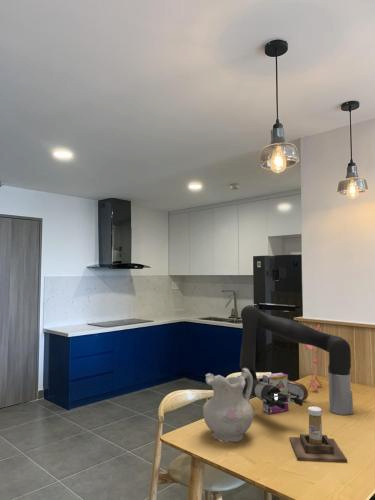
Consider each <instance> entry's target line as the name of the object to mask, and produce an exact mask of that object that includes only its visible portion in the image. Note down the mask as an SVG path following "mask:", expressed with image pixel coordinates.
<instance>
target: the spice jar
mask: <svg viewBox="0 0 375 500" xmlns="http://www.w3.org/2000/svg"><path fill="white" fill-rule="evenodd" d="M307 413H308V434H309V444H317V445H322V435H323V429H322V428H323V425H322V424H323V423H322V415H323V412H322V408H321V407H318V406H309V407H308V408H307Z"/></svg>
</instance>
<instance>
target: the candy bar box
mask: <svg viewBox="0 0 375 500" xmlns="http://www.w3.org/2000/svg"><path fill="white" fill-rule="evenodd" d="M288 380H289V374H287V373H283V372H277V373H267V374H262V382H264V383H268V384H270V385H273V386H275V387H278V388H279V389H280V391H281V392H283V393H286V394H288ZM287 401H289V398H288V397H287ZM262 412H264V413H266V414H268V415H273V414H279V413H284V412H289V403H285V409H282V408H279V407H275V406H273V407H270V406H268V405H266V404H264V403H263V402H262Z"/></svg>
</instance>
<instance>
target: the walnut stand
mask: <svg viewBox="0 0 375 500" xmlns="http://www.w3.org/2000/svg"><path fill="white" fill-rule="evenodd" d="M289 442H290V446H291V447H292V449H293V452H294V455H295V457H296V461H300V462H301V461H304V462H322V463H323V462H325V463H327V462H328V463H345V462H347V463H348V458H347V457H346V456H345V454H344V453H343V451H342V450H341V448H340V447H339V445H338V444H337V442H336V440H335V439H334V438H329V437H328V436H327V435H326V434H322V445H317V444H309V433H308V434H306V433H305V434H304V433H300V434H299V436H297V437H295V436H289Z"/></svg>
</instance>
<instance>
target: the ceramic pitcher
mask: <svg viewBox="0 0 375 500" xmlns="http://www.w3.org/2000/svg"><path fill="white" fill-rule="evenodd" d="M238 376H239V377H238ZM238 376H230V377H227V378H226V377H224V376H222V375H220V374H217V375H214V374H213V373H210V372H209V373H206V374H205V382H206V384H207V385H209V386H211V387H212V391H213V395H212V396H211V398H210V399H208V400H207V401H206V402H205V403H204V405H203V406H202V407H203V408H202V414H203V415H202V416H203V419H204V423H205V425H206V426H207V427H208V429H209V430H210V431H212V432H213V433H212V434H211V435H210V438H212V439H214V440H218V441H220V442H221V441H222V442H224V443H239V442H241V441H242V440H243V439H244V433H247V431H248V430H249V429H250V427H251V426H252V423H253V421H254V415H255V412H254V409H253V406H252V405H251V404H250V397H251V391H252V385H253V378H252V375H251V373H250V372H249V369H248V368H245V369H244V368H243V369H241V373H240V375H238ZM246 378H247V380H248V387H247V390H246V393H245V395H244V394H243V388H244V386H245V379H246Z"/></svg>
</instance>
